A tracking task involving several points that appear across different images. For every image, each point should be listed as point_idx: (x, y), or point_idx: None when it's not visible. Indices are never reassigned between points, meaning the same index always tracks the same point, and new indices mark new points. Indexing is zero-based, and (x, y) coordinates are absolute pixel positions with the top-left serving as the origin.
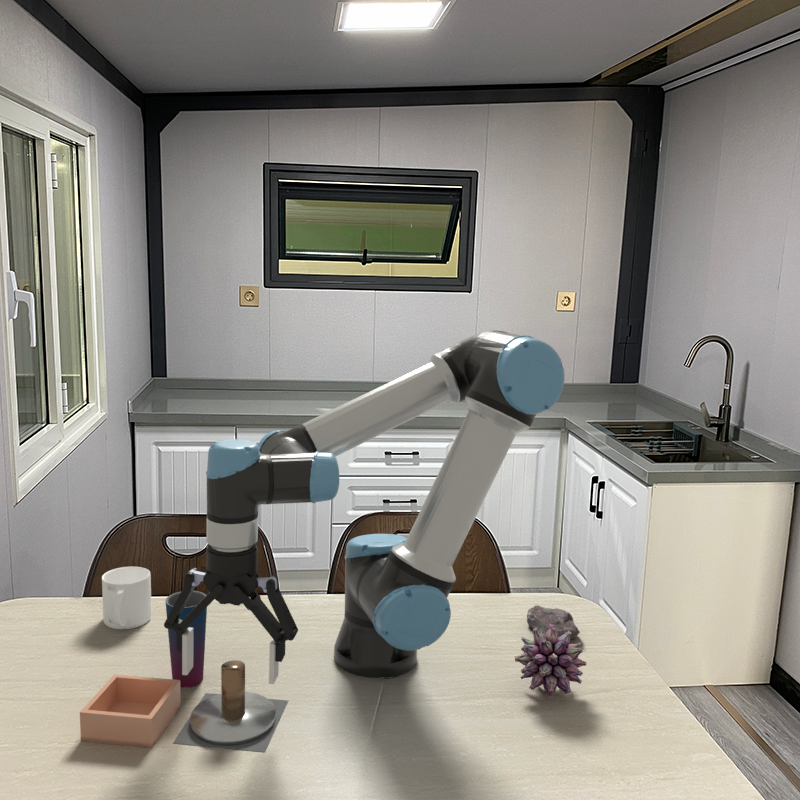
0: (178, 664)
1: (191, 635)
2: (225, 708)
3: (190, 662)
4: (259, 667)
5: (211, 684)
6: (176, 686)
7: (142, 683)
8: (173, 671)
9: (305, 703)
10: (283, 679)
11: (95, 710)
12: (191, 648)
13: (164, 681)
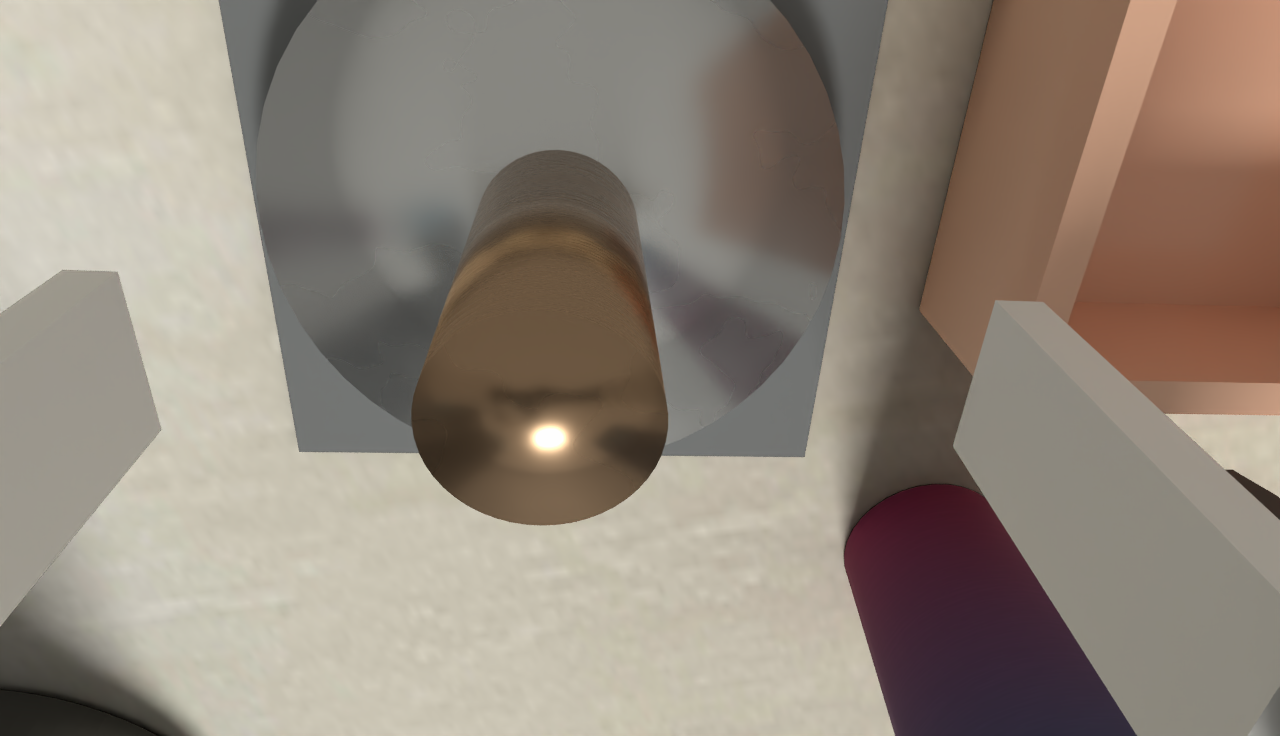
0: (1029, 586)
1: (1170, 691)
2: (591, 182)
3: (1006, 429)
4: (581, 693)
5: (791, 540)
6: None
7: (1257, 366)
8: None
9: (202, 450)
10: (420, 625)
11: None
12: (1068, 551)
13: None
